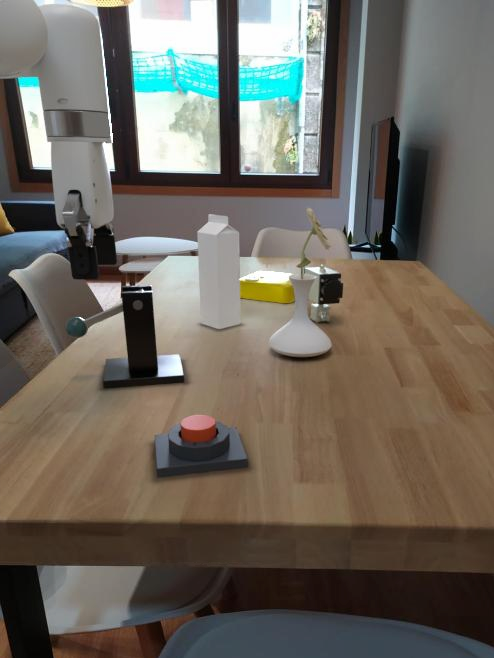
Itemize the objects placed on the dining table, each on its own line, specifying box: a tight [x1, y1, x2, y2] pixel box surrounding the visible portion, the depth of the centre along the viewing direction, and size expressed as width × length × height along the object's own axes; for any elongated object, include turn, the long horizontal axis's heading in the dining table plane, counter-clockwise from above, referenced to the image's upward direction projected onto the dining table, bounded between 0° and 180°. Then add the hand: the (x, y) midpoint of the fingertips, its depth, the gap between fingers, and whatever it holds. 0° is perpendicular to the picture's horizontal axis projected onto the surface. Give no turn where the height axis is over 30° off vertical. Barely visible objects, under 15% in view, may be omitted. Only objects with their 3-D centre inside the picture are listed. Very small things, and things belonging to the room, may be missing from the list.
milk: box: [196, 213, 241, 330], centre depth 110 cm, size 6×6×22 cm
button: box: [180, 414, 217, 443], centre depth 63 cm, size 4×4×2 cm
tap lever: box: [64, 288, 144, 339], centre depth 82 cm, size 13×3×3 cm, turn 105°
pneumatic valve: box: [303, 264, 344, 324], centre depth 116 cm, size 6×12×12 cm, turn 21°
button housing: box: [154, 420, 249, 479], centre depth 63 cm, size 10×8×3 cm
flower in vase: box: [268, 206, 333, 358], centre depth 95 cm, size 13×11×25 cm
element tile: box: [240, 270, 295, 304], centre depth 139 cm, size 15×15×5 cm
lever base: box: [102, 284, 185, 389], centre depth 85 cm, size 12×10×14 cm
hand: (96, 271), depth 72 cm, fingers open, 9 cm apart
